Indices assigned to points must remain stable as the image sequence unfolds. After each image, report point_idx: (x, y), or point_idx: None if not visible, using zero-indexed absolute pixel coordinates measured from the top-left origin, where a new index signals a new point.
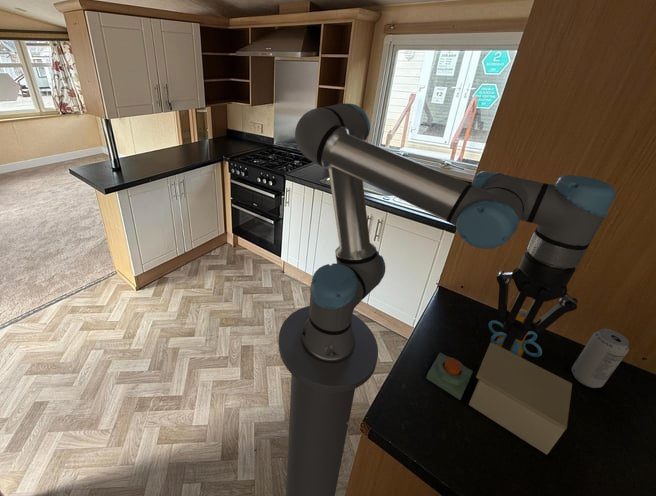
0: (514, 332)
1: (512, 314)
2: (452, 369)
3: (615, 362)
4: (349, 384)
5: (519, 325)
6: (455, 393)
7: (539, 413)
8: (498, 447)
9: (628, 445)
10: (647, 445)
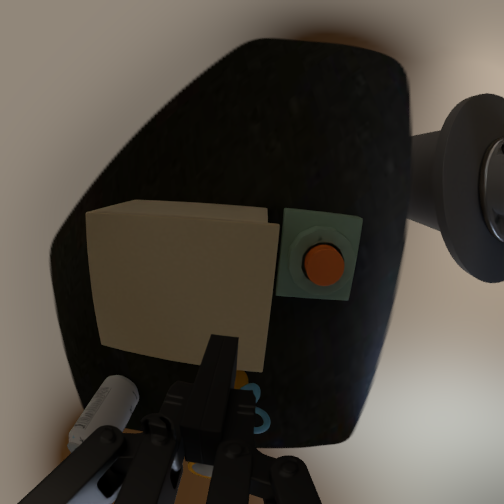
0: (203, 404)
1: (232, 497)
2: (325, 249)
3: (81, 415)
4: (457, 115)
5: (190, 445)
6: (298, 210)
7: (129, 213)
8: (202, 151)
9: (68, 301)
10: (58, 314)
